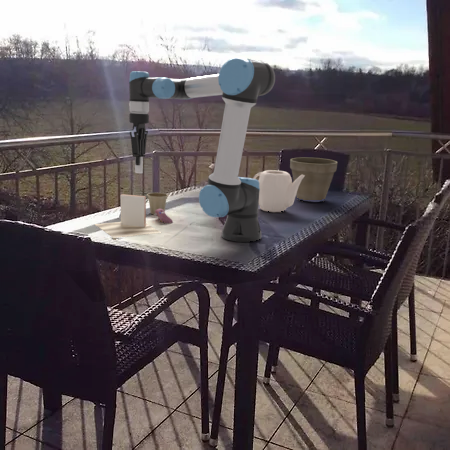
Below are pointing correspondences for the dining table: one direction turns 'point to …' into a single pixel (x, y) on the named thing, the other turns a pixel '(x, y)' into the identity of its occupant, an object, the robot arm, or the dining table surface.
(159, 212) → the video game controller
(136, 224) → the tile
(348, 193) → the dining table surface
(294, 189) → the watering can
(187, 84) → the robot arm
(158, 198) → the flower pot
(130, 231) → the board
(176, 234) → the dining table surface
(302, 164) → the plant pot
